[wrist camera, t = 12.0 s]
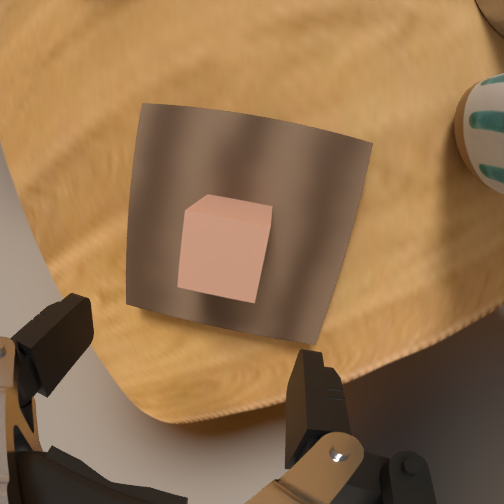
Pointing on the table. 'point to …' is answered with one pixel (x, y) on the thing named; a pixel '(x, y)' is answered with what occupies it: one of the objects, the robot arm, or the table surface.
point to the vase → (483, 131)
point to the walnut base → (252, 190)
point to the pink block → (224, 247)
